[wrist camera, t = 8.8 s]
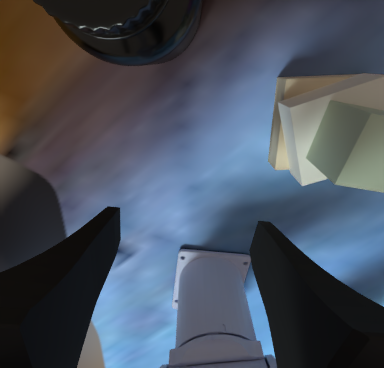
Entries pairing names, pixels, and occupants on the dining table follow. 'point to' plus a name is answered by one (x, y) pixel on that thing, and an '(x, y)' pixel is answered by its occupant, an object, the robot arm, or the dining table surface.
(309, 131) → the white slab
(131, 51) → the supplement bottle
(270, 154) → the maple slab
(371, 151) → the sage block
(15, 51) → the dining table surface
